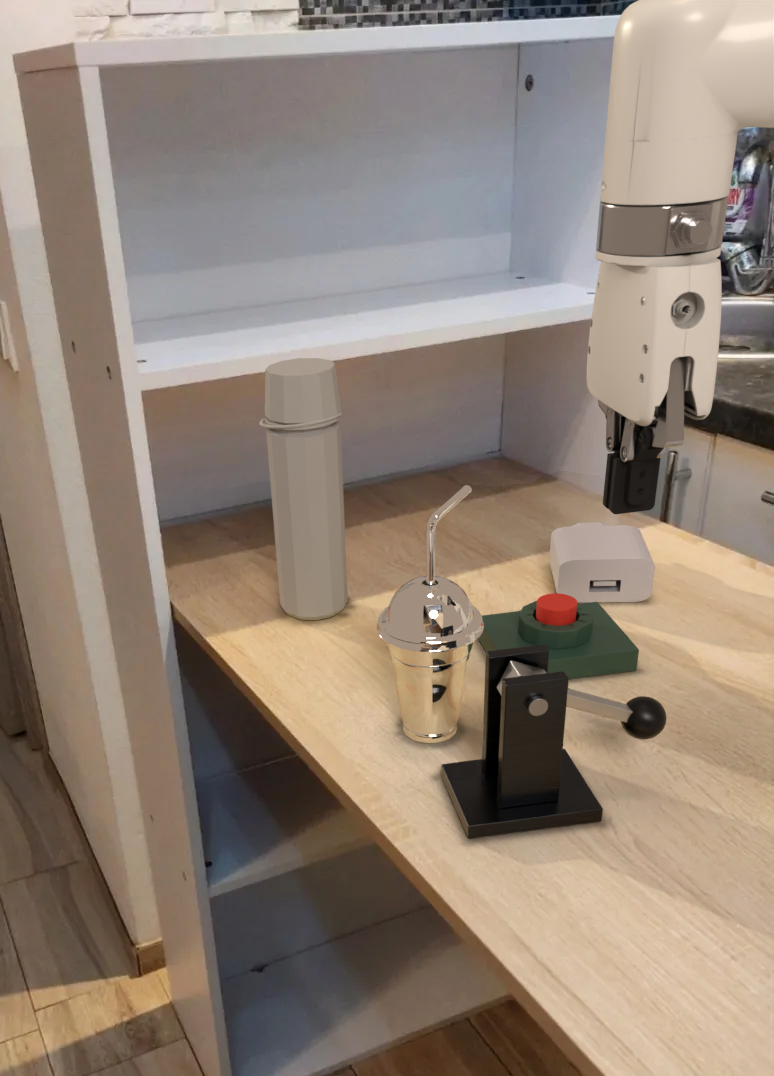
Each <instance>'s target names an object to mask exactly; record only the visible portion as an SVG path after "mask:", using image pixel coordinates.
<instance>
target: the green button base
mask: <svg viewBox="0 0 774 1076" xmlns="http://www.w3.org/2000/svg"><path fill="white" fill-rule="evenodd" d="M536 606H537V600H534V601H532V602H530V603H528V604H526V605H523V606H522V609H521V610H516V611H507V612H500V613H492V614H483V615H482V614H481V615H482V621H483V624H484V629H483V633H482V634H481V636H480V637H479V638H478V639H477V640H478V641H479V643H480V644H481V646H482V648H483V650H484V651H485V652H486V651H493V650H502V649H510V648H518V647H526V646H534V645H543V644H545V645H546V647H547V648H548V650H549V659H548V673H552V672H560V671H564V672H565V673H566V675H567V676H568V678H569V680H571V679H579V678H588V677H595V676H596V677H597V676H605V675H613V674H621V673H628V672H636V671H637V670H638V661H639V653H640V648H638V646H636V644H635V643H634V642H633V641H632V640H631V638H629V636H628V635H627V634H626V632H624V631H623V629H622V628H621V627H620V625H618V624H617V623H616V621H615V620H614V619H613V618H612V617H611V615H609V613H608V612H607V611H606V609H604V607H603V606H602V605H601V604H600V602H584V603H577V614H576V621H575V622H574V623H571V624H569V625H561V626H556V625H547V624H544V623H541V622H539V621H537V620H536Z"/></svg>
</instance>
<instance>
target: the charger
mask: <svg viewBox="0 0 774 1076" xmlns="http://www.w3.org/2000/svg"><path fill="white" fill-rule="evenodd" d="M549 564H550V568H551V573H552V578H553V583H554V587H555V592H556V593H559V594H566V595H569V596H572V597H573V598H575V599H576V600H577V603H579V604H582V603H591V602H598V603H636V602H638V603H639V602H642V601H643V602H644V601H646V600H648V599H649V598H650V597H651V596H652V592H653V585H654V577H655V570H656V565H655V562H654V560H653V558H652V555H651V553H650V550H649V549H648V546H647V544H646V540H645V538H644V537H643V534H642V532H641V530H640V528H638V527H637V526H633V525H629V524H628V525H626V524H624V525H623V524H621V525H619V524H618V525H617V524H616V525H608V524H606V523H604V522H601V521H600V522H596V521H595V522H578V523H576V524H574V525H571V526H562V527H558V528H556V529H554V530H553V531H552V532H551V534H550V547H549Z"/></svg>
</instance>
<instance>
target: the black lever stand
mask: <svg viewBox="0 0 774 1076" xmlns="http://www.w3.org/2000/svg"><path fill="white" fill-rule="evenodd" d="M548 659H549V650H548V648H547V647H546V645H545V644H543V645H534V646H526V647H518V648H510V649H502V650H493V651H485V661H484V662H485V668H484V694H483V695H484V697H483V718H482V719H483V723H482V747H481V748H482V751H481V758H479V759H473V760H464V761H456V762H447V763H441V766H440V768H441V769H440V770H441V771H440V772H441V773H440V775H441V776H440V777H441V779H442V781H443V784H444V786H445V788H446V790H447V792H448V795H449V797H450V799H451V802H452V805H453V806H454V809H455V811H456V813H457V816H458V818H459V821H460V823H461V826H462V828H463V830H464V833H465V835H466V837H467V839H469V840H470V839H477V838H478V839H479V838H484V837H492V836H499V835H507V834H508V835H509V834H516V833H525V832H531V831H538V830H547V829H554V828H562V827H568V826H576V825H584V824H592V823H599V822H600V823H601V822H602V820H603V812H604V811H603V810H604V809H603V807H602V805H601V804H600V802H599V800H598V799H597V797H596V796H595V794H594V793H593V791H592V789H591V788H590V785H588V783H587V781H586V780H585V778H584V777H583V775H582V774H581V772H580V771H579V769H578V767H577V766H576V763H575V762H574V760H573V759H572V758H571V756H570V755H569V753H568V751H567V749H566V748H564V738H565V727H566V717H567V716H566V714H567V706H566V704H567V692H568V688H569V680H570V679H569V678H568V676H567V675H566V673H565V672H564V671H560V672H552V673H548ZM511 660H512V661H516V662H519V663H523V664H526V665H530V666H534V667H537V668H541V669H544V670H545V672H546V673H544V674H536V675H528V676H520V677H512V678H504V679H502V695H501V694H500V693H499V691H498V689H497V686H498V684H499V682H500V680H501V678H502V676H503V674H504V672H505V670H506V668H507V666H508V664H509V662H510V661H511Z"/></svg>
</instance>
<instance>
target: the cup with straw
mask: <svg viewBox="0 0 774 1076" xmlns="http://www.w3.org/2000/svg"><path fill="white" fill-rule="evenodd" d="M472 492H473V489H472V487H471V485H468V484H465V485H463V487H461V488H460V489H459V490H458V491H457V492H456V493H455V494H454V495H453V496H451V497H450V498H449V499H448V500H447V501H446V502H445V503H443V504H442V505H441V506H440V507H439V508H438V509H436V511H434V512H433V513H432V514H431V516H430V517H429V518H428V521H427V524H426V529H425V576H419V577H416V578H413V579H410V580H409V581H407V582H405V583H404V584H402V585H401V586H400V587H399V588H398V589H397V590H396V591H395V592H394V594H393V596H392V598H391V599H390V602H389V603H388V606H386V607H385V608H384V609H383V610H382V611H381V612H380V614H379V616H378V622H377V624H376V631H377V634H378V636H379V637H380V638H381V640H383V641H384V642H386V643H387V648H388V651H389V656H390V659H391V661H392V663H393V664H392V665H393V670H394V678H395V685H396V691H397V692H396V693H397V697H398V704H399V712H400V718H401V721H402V722H403V725H402V731H403V733H404V734H405V736H407V737H408V738H409V739H411V740H413V741H415V742H418V743H425V744H436V743H442V742H445V741H447V740H449V739H451V738H452V737H454V736H455V735H456V733H457V731H458V730H457V729H458V726H457V722H458V721H459V717H460V711H461V704H462V699H463V692H464V685H465V678H466V671H467V665H468V661H469V659H470V656H471V651H472V649H473V646H474V645H473V644H474V643H475V642H476V641H477V640H479V639H478V638H479V637H480V636H481V634H482V633H483V629H484V624H483V621H482V613H481V611H480V610H479V609H478V608H477V607H476V606H475V605H473V603H472V602H471V599H470V598H469V596H468V594H467V592H466V590H464V589H463V588H462V587H461V586H460V585H459V584H458V583H457V582H456V581H455V582H454V581H453V580H451V579H450V578H449V579H448V578H447V577H443V576H439V575H436V529H437V526H438V523H439V522H440V520H442V519H443V518H444V517H445V516H447V514H449V512H450V511H452V510H453V509H454V508H455V507H456V506H457V505H458V504H459V503H461V502H462V501H463V500H465V498H466V497H468V496H469V494H471V493H472Z"/></svg>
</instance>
